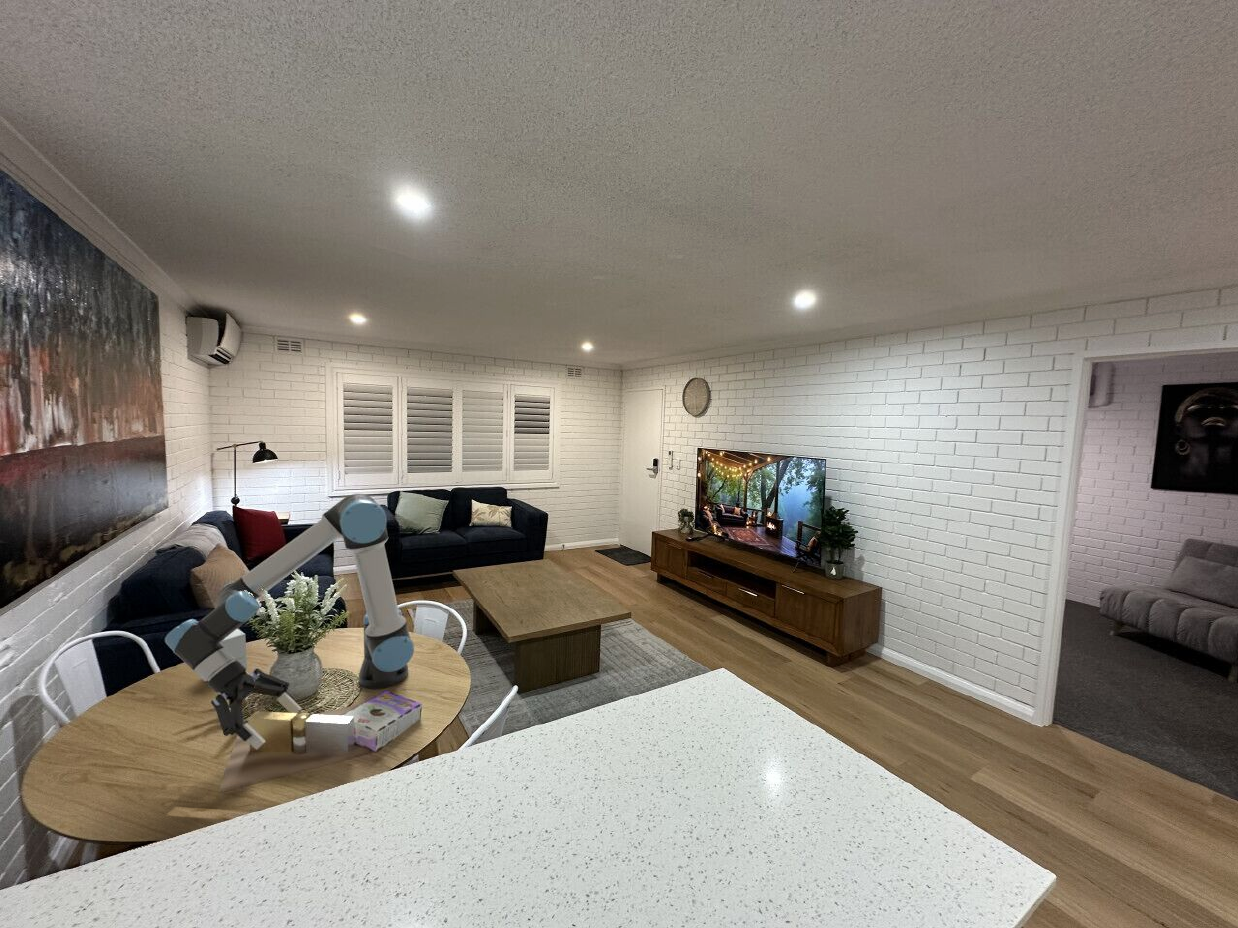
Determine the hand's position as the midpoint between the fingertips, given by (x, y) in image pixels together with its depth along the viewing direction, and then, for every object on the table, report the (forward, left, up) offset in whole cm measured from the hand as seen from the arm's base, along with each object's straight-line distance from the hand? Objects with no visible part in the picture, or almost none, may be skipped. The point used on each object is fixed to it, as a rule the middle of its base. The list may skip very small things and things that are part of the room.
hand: (280, 728), depth 131 cm
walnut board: (-1, +5, -7) cm, 8 cm away
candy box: (-4, +30, -4) cm, 31 cm away
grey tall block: (-55, -20, -7) cm, 59 cm away
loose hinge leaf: (0, 0, -6) cm, 6 cm away
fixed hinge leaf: (+6, +10, -6) cm, 12 cm away
